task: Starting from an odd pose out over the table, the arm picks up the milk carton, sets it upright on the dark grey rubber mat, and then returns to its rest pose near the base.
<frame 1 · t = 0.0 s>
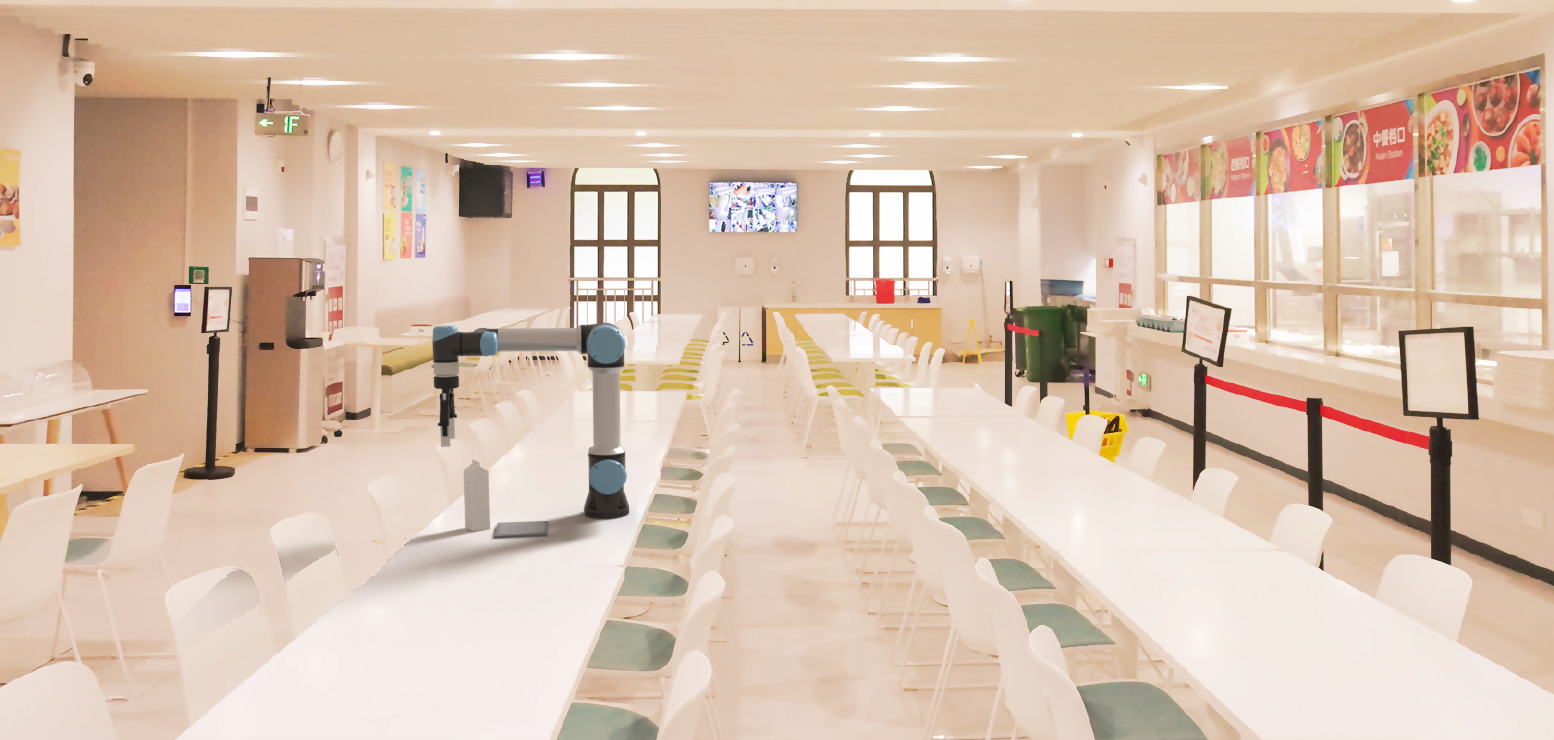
hand: (448, 442, 340), 28 cm above the table, fingers open, 13 cm apart
mat: (522, 530, 342), on the table
milk: (477, 529, 345), on the table
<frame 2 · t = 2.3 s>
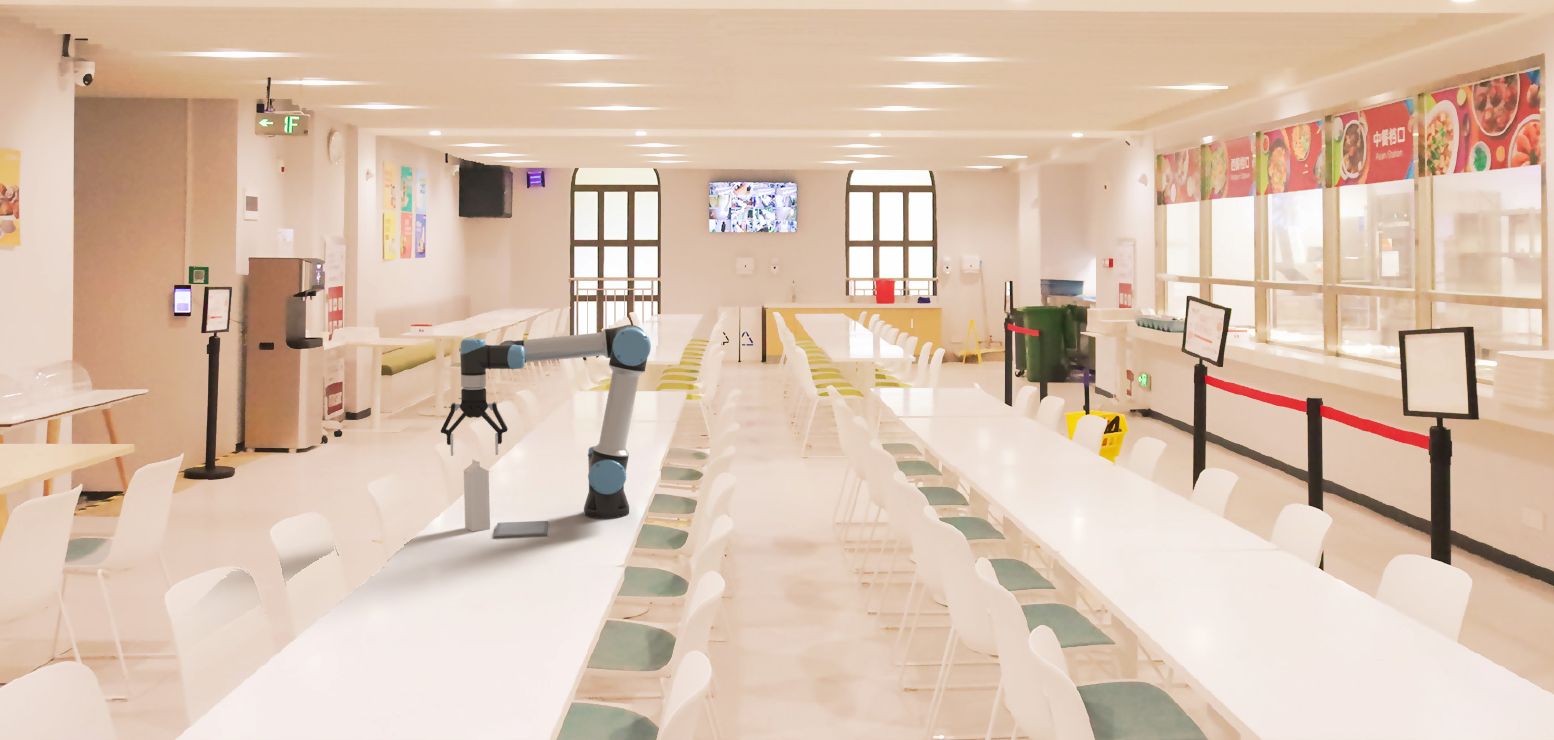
hand: (474, 454, 342), 24 cm above the table, fingers open, 13 cm apart
nothing on the table moved.
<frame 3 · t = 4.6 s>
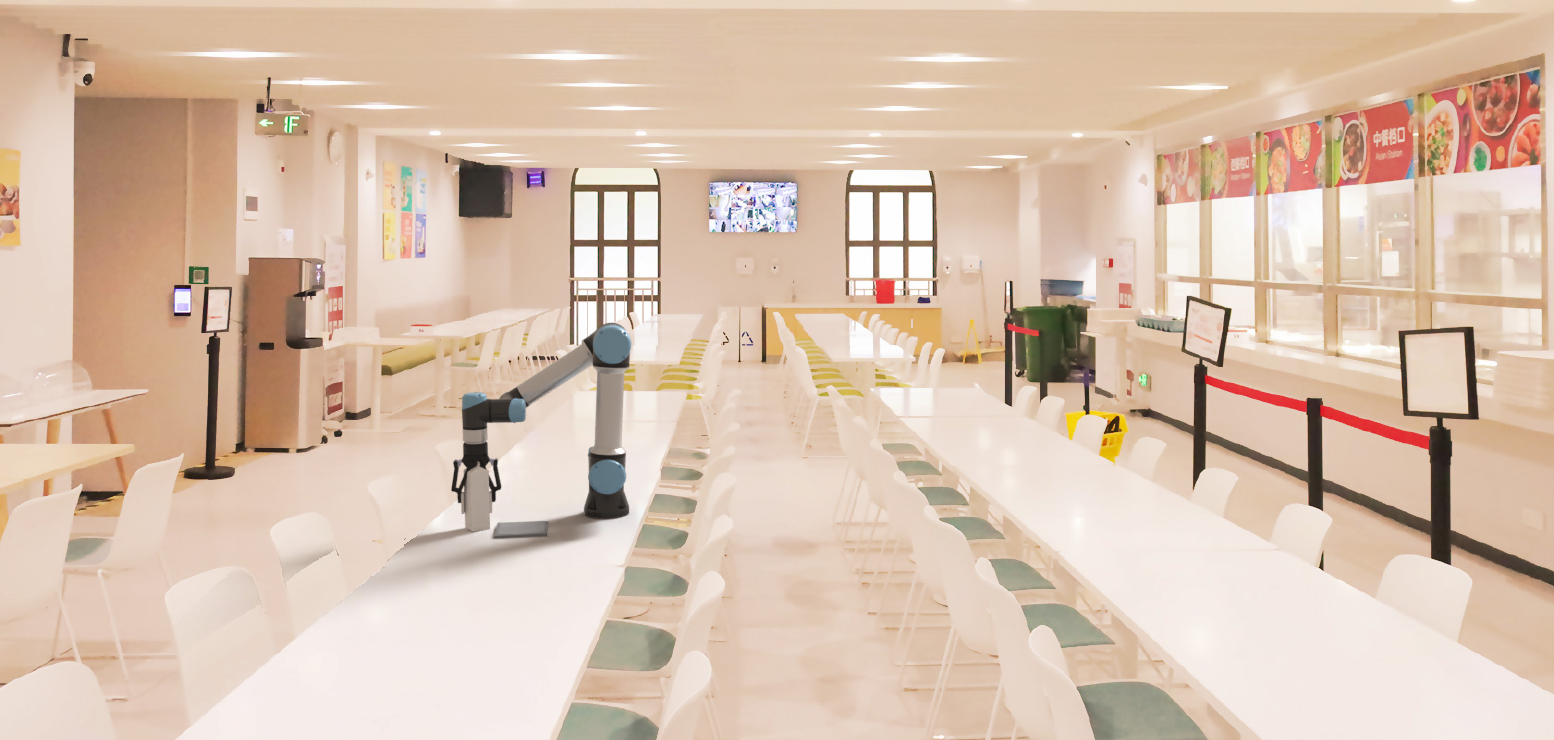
hand: (477, 512, 344), 5 cm above the table, fingers closed on milk, 8 cm apart
milk: (477, 529, 345), on the table, touching gripper
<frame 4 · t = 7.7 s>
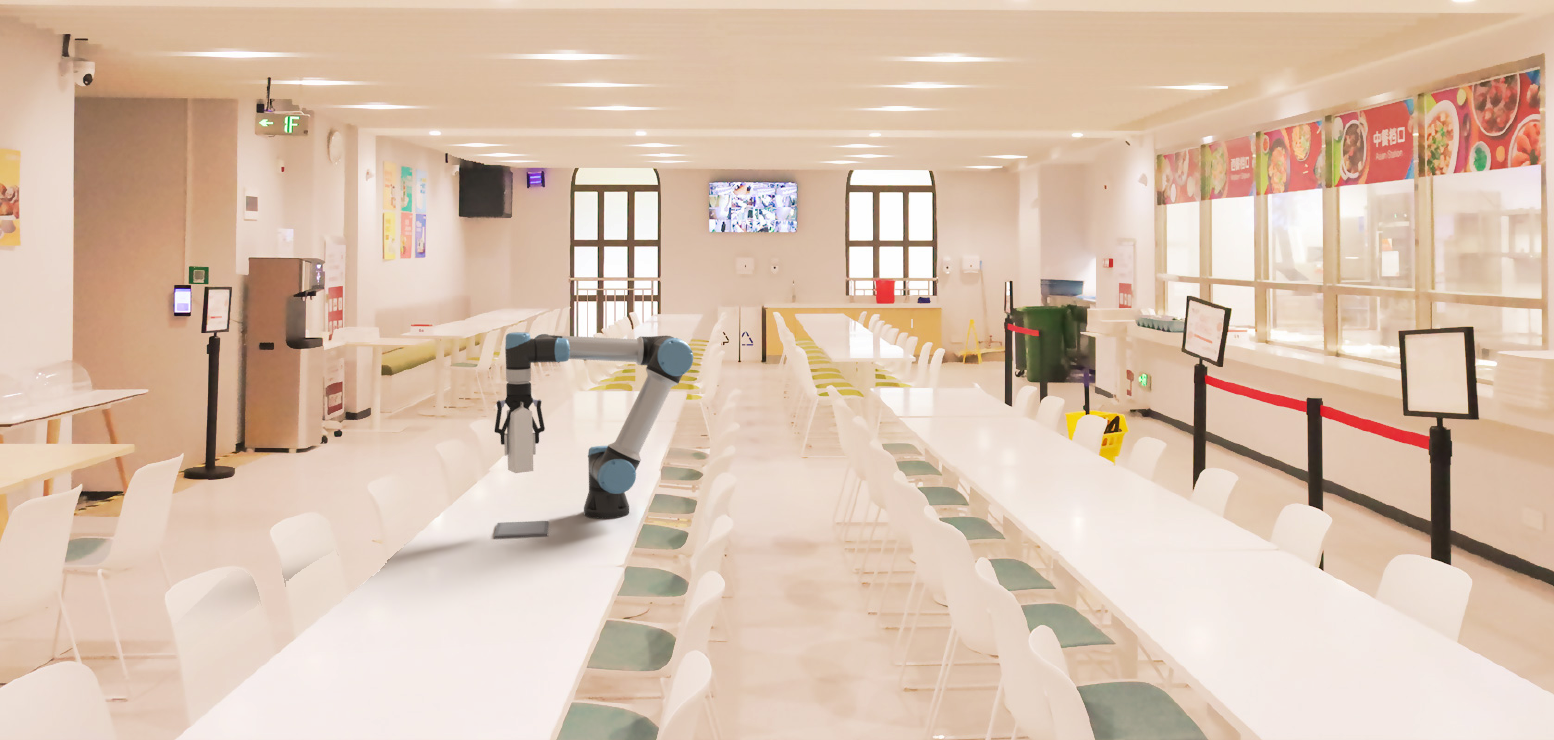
hand: (520, 454, 340), 25 cm above the table, fingers closed on milk, 8 cm apart
milk: (520, 471, 340), point 19 cm above the table, touching gripper
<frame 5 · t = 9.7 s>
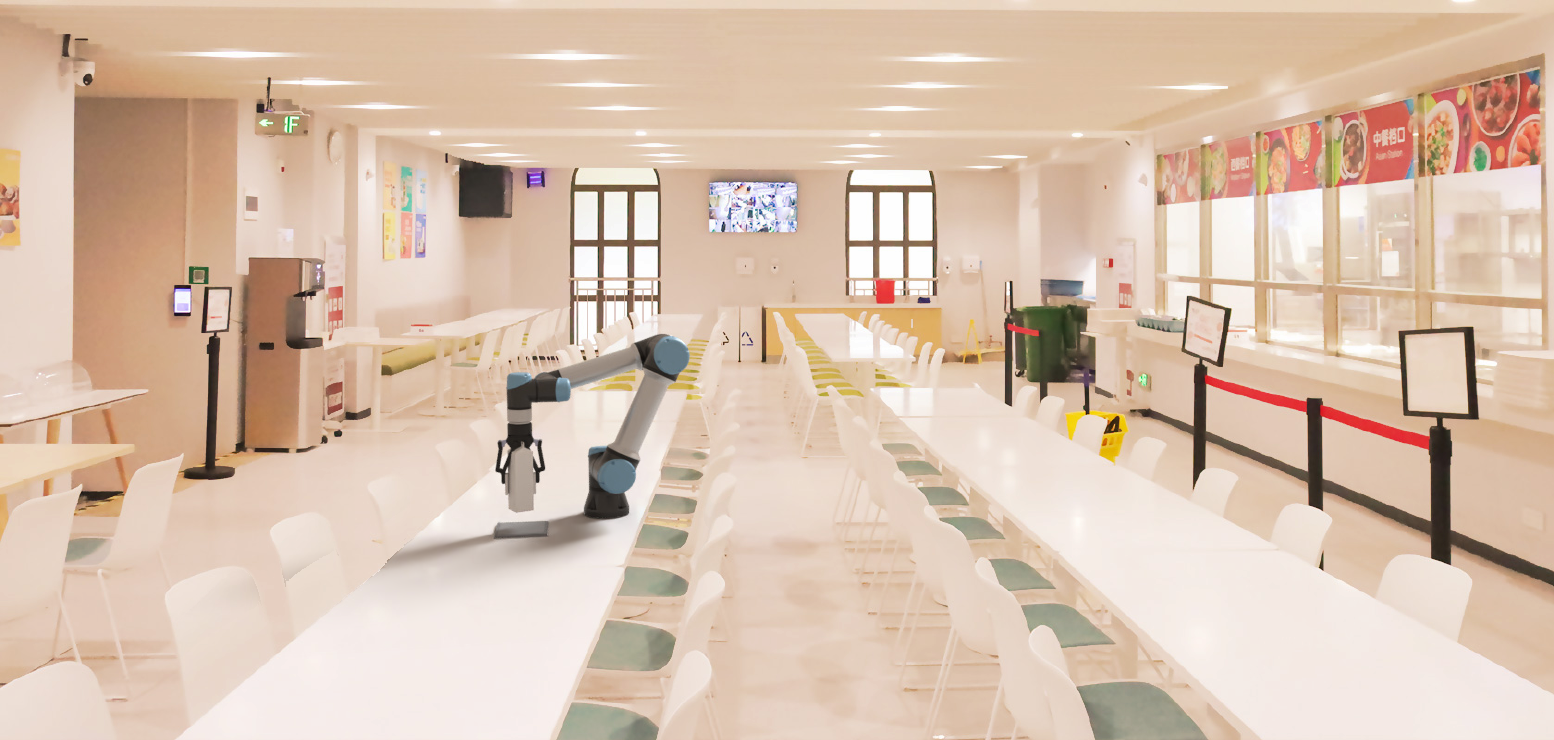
hand: (520, 493, 341), 12 cm above the table, fingers closed on milk, 8 cm apart
milk: (521, 510, 342), point 7 cm above the table, touching gripper
when the fingers open (7 cm above the table, at t = 11.2 s): milk stays where it is, resting on mat.
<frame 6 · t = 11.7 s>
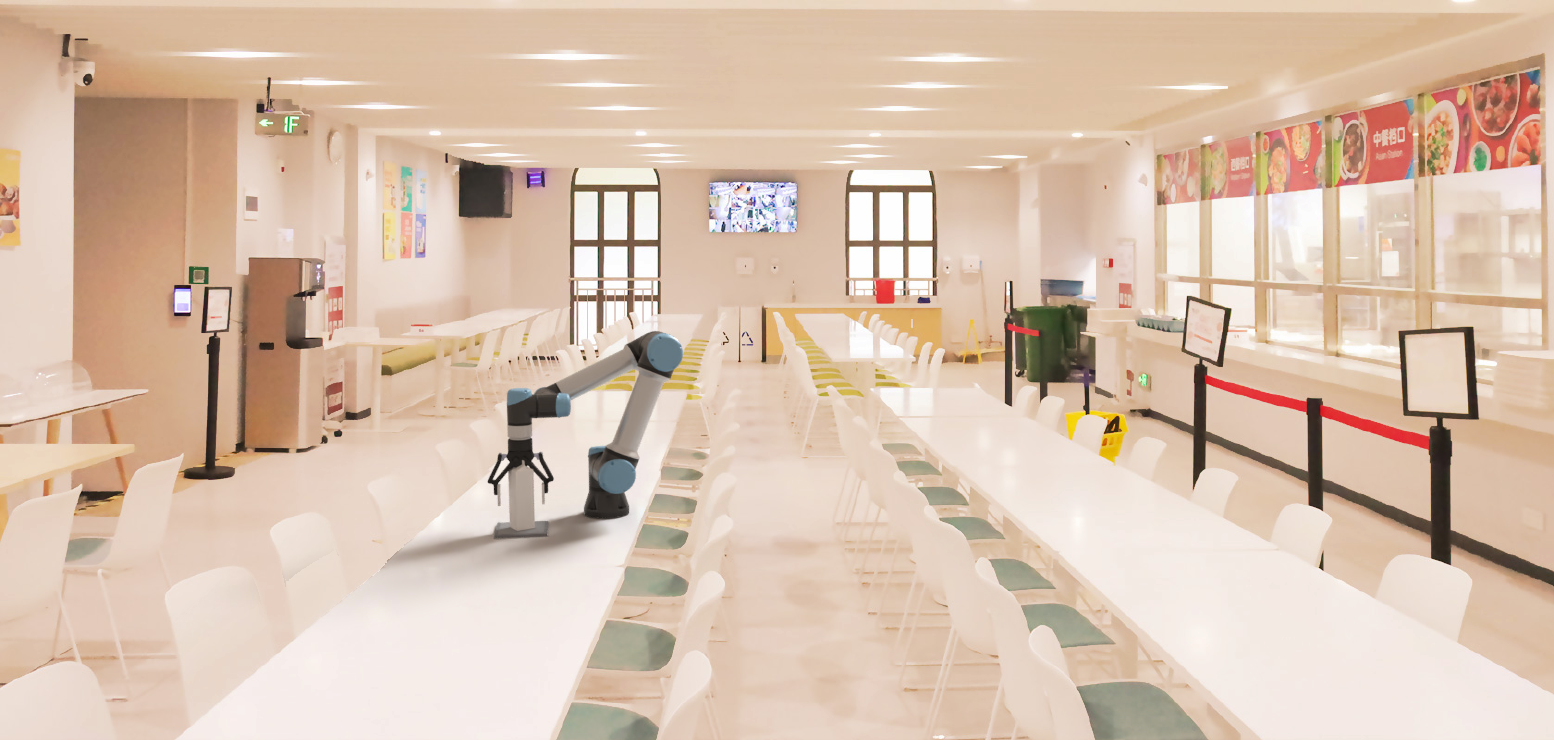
hand: (521, 504, 341), 8 cm above the table, fingers open, 13 cm apart
milk: (522, 528, 342), point 1 cm above the table, touching mat
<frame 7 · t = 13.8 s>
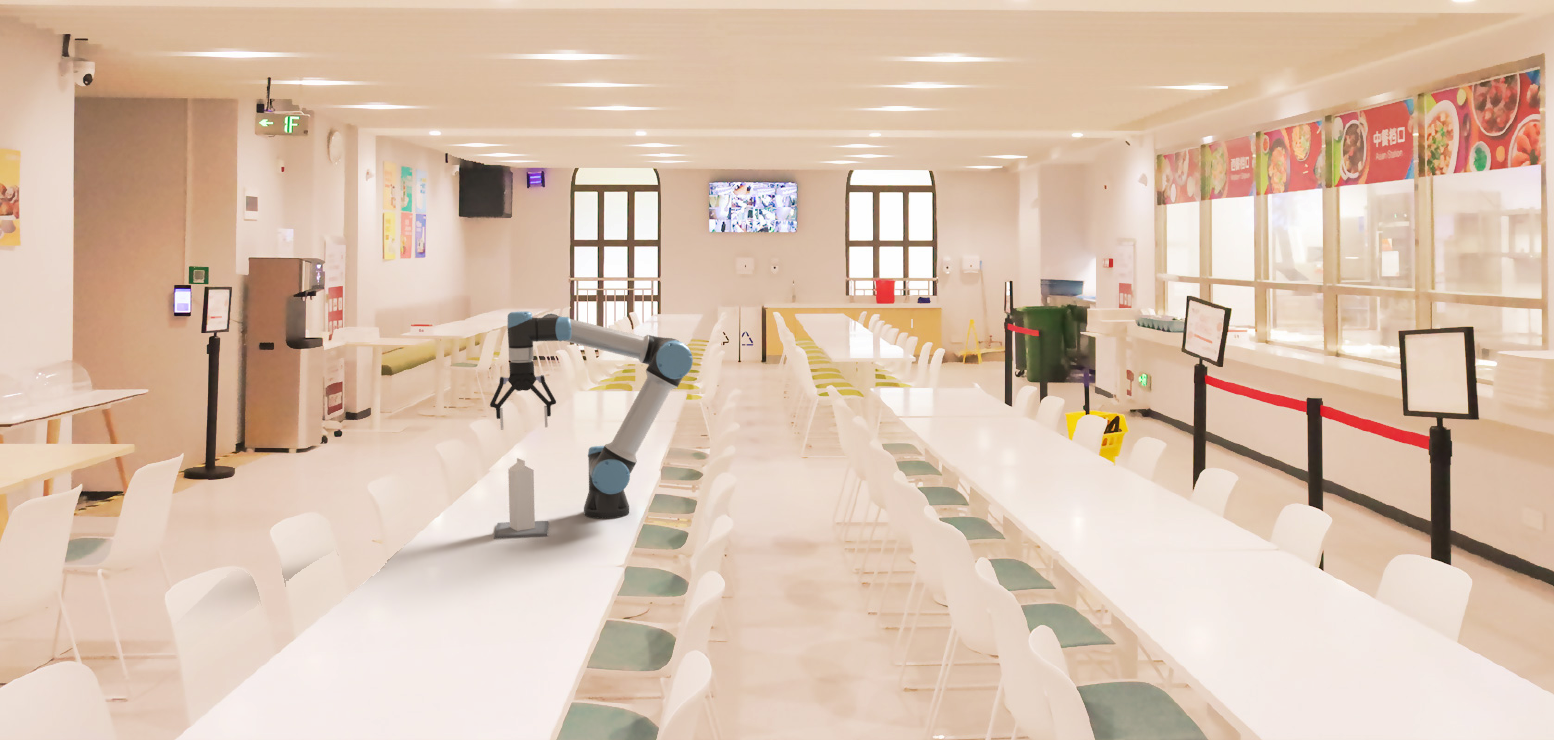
hand: (524, 427, 342), 32 cm above the table, fingers open, 13 cm apart
nothing on the table moved.
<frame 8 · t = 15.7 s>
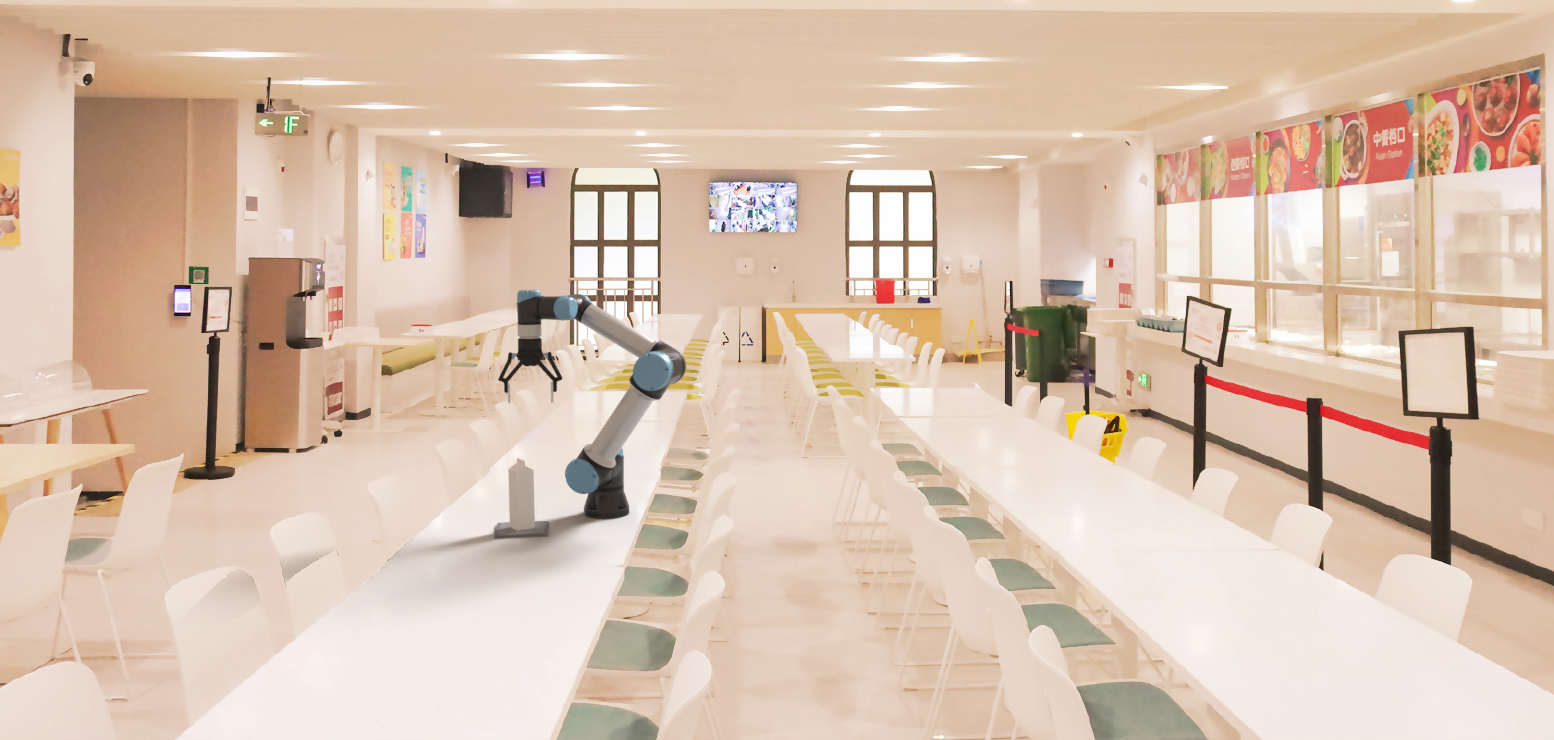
hand: (531, 402, 353), 39 cm above the table, fingers open, 13 cm apart
nothing on the table moved.
at the end: milk inside the target area on the mat (0.1 cm from its centre), point 0.7 cm above the mat's base; milk tilted 0°; the gripper is holding nothing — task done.
